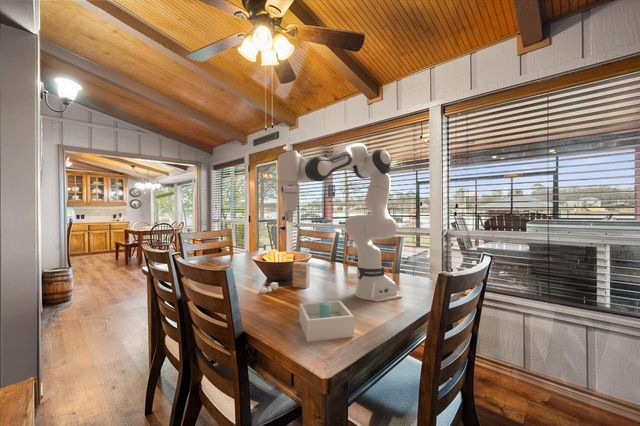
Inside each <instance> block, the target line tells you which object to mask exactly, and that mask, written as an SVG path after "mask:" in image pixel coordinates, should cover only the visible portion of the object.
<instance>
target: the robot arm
mask: <svg viewBox="0 0 640 426" xmlns="http://www.w3.org/2000/svg"><path fill="white" fill-rule="evenodd" d="M277 163H278V165H277V167H278V168H277V172H278V181H277V184H278V185H277V186H278V187H277V189H278V192H277V193H278V194H280V195H281V196H280V197H281V198H282V207H281V208H282V211H284V217H285V218H284V219H285V220H284V221H286V222H288V223H290V224H292V223H293V222H294V212H296V211H297V210H298V209H297V208H298V197H299V194H300V183H310V182H323V181H326V180H327V178H329V177H330V175H331V174H333V173H334V172H336V171H337V170H345V169H350V168H351V167H352V168H353V173H354V174H355V176H356V177H357V178H359V179H367V178H369V185H368V188H367V191H366V195H365V198H364V205H365V207H366V208H367V209H368V211H370V212H371V214H369V215H365V214H362V215H361V214H357V215H352V216H351V215H350V216H349V217H348V218H347V219H346V220H345V223H344V228H345V229H344V230H345V231H346V233H347V235H348V236H349V237H351V239H352V241H353V242H354V244H355V246H356V249H357V265H356V266H357V270H356V277H357V282H356V289H355V293H354V296H355V297H357V298H358V299H361V300H367V301H372V302H377V303H378V302H383V301H388V300H394V299H400V298H403V294H402V293H401V292H400V291H398V287H397V284H396V282H395V281H394V280H393V279H391V278H390V277H389V276H388V275H387V274H388V273H389V271H390V270H389V269H388V268H387V267H384V266H382V252H381V249H380V248H379V247H378V246H376V245H375V244H374V243H373V241H372V239H376V240H385V239H386V240H387V239H391V238H393V237H394V236H395V234H396V232H397V228H398V226H397V223H396V221H395V220H394V218H393V217H392V216H391V215H390V213H389V211H388V202H389V198H390V194H391V193H390V192H391V185H392V182H391V181H392V178H391V176H390V175H389V174H388V173H389V172H390V171H391V166H392V155H391V154H390V152H389V151H388V150H387V149H385V148H379V149H376V150H374V151H372V152H368V148H367V146H366V145H365V144H364V143H362V142H352V143H346V144H344V145H341V146H339V147H337V148H336V149H334V150H333V152H332V155H331V156H329V157H324V156H316V157H312V158H305V157H303V156H302V155H300V153H299V152H298V150H294V149H292V150H291V149H290V150H285V151H282V152H281V153H280V154H279V156H278V162H277Z"/></svg>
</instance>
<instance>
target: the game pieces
mask: <svg viewBox="0 0 640 426" xmlns="http://www.w3.org/2000/svg"><path fill="white" fill-rule="evenodd" d="M277 289H279V282H274V281H273V282H271V283H269V285H268V287H266V286H265V287H263V286H262V287H261V288H260V289H259V290H260V293H261V294H266V293H267V292H269V293H270V292H272V291H275V290H277Z"/></svg>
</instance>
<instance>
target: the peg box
mask: <svg viewBox="0 0 640 426" xmlns="http://www.w3.org/2000/svg"><path fill="white" fill-rule="evenodd" d="M322 302H323V301H319V302H304V303H299V324H300V327H301V329H302V332H303V334H304V337H305V339H306V342H307V343H310V342H319V341H326V340H327V341H328V340H336V339H338V340H339V339H346V338H353V337H355V315H354V314H353V313H352V312H351V311H350V310H349V309H348V307H347V306H346V305H345V304H344V303H343V302H342V301H341V300H329V301H327V302H328V303H330V304H331V317H328V318H320V303H322Z"/></svg>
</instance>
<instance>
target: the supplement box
mask: <svg viewBox="0 0 640 426" xmlns="http://www.w3.org/2000/svg"><path fill="white" fill-rule="evenodd" d="M310 268H311V263H310V262H302V261H294V262H293V263H292V287H293V288H298V289H299V288H301V289H307V288H309V287H310V280H311V279H310V275H311V274H310V271H311V269H310Z"/></svg>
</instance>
